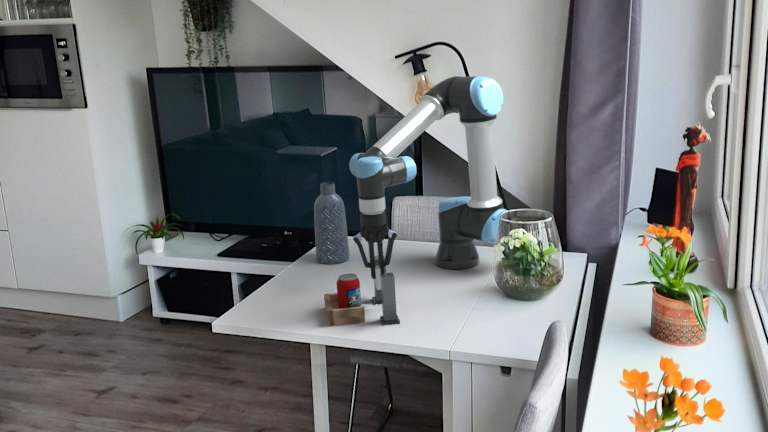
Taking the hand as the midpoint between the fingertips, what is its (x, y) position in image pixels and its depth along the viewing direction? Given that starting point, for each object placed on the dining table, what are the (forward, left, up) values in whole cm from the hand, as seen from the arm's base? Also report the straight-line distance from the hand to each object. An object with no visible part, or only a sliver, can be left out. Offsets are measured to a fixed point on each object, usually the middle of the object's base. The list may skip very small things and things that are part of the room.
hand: (378, 288), depth 224 cm
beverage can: (+9, +1, -7) cm, 12 cm away
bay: (+10, 0, -7) cm, 13 cm away
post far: (-2, -8, -7) cm, 11 cm away
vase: (+9, -55, -7) cm, 56 cm away
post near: (-2, +9, -7) cm, 11 cm away
